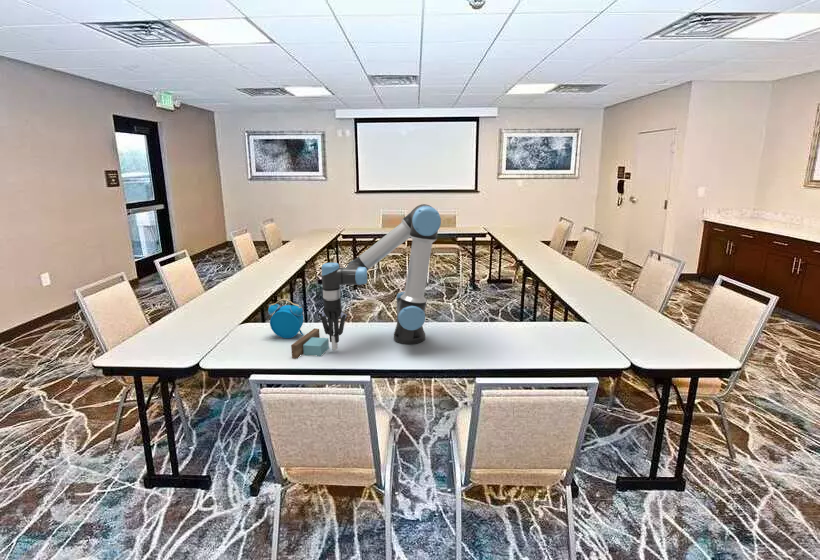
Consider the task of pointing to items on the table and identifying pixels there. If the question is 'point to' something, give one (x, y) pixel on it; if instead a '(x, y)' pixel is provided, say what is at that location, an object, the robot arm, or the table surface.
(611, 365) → the table surface
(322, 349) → the block
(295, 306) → the alarm clock
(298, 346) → the board
